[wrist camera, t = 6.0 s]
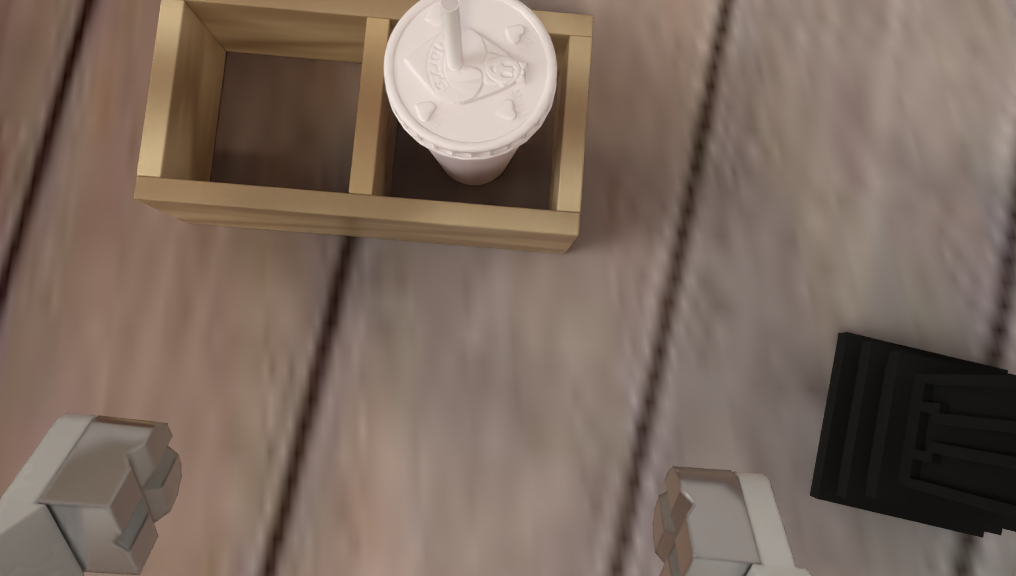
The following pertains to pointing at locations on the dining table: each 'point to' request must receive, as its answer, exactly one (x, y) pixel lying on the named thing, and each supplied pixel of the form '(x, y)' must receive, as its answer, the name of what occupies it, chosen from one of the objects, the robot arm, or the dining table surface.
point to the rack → (368, 206)
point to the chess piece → (919, 437)
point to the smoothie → (470, 81)
